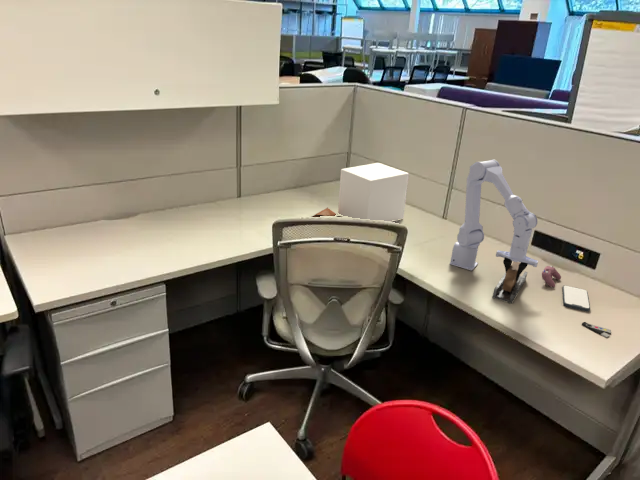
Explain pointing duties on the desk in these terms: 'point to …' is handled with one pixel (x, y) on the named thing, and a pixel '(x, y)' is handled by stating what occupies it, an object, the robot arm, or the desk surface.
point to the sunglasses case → (325, 213)
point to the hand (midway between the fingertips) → (511, 278)
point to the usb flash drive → (597, 329)
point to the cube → (373, 192)
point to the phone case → (575, 298)
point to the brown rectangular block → (511, 277)
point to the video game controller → (550, 275)
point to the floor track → (507, 295)
